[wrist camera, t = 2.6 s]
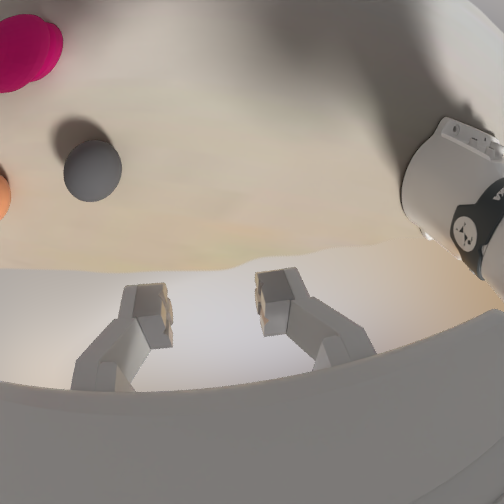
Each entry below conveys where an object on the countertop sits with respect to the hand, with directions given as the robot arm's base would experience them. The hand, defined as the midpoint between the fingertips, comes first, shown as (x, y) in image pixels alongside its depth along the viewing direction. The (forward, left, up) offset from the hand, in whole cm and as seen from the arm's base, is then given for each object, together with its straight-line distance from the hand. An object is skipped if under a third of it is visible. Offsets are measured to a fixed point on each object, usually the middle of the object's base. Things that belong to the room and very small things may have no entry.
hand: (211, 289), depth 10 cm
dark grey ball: (+10, -1, -16) cm, 19 cm away
